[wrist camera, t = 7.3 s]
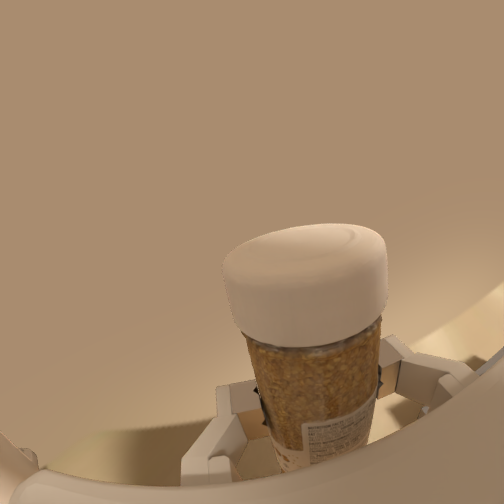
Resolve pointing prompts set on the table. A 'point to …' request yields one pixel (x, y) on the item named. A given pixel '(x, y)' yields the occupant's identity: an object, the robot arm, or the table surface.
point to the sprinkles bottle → (312, 334)
